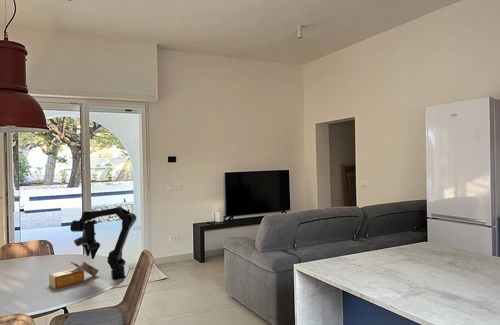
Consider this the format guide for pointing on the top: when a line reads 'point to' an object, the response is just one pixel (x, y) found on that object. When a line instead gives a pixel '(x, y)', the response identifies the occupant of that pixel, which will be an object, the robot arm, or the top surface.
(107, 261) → the robot arm
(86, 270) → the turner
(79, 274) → the baking soda box
